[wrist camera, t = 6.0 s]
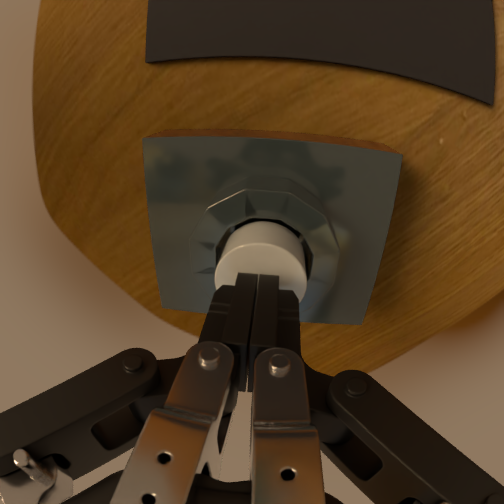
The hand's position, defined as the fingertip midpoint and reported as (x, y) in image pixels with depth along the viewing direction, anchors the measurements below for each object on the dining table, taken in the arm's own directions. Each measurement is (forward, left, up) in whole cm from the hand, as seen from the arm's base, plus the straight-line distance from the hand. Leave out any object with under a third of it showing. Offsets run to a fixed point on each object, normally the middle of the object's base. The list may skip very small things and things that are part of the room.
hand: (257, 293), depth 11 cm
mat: (+3, +17, -7) cm, 19 cm away
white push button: (0, 0, -3) cm, 3 cm away
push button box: (0, 0, -7) cm, 7 cm away
